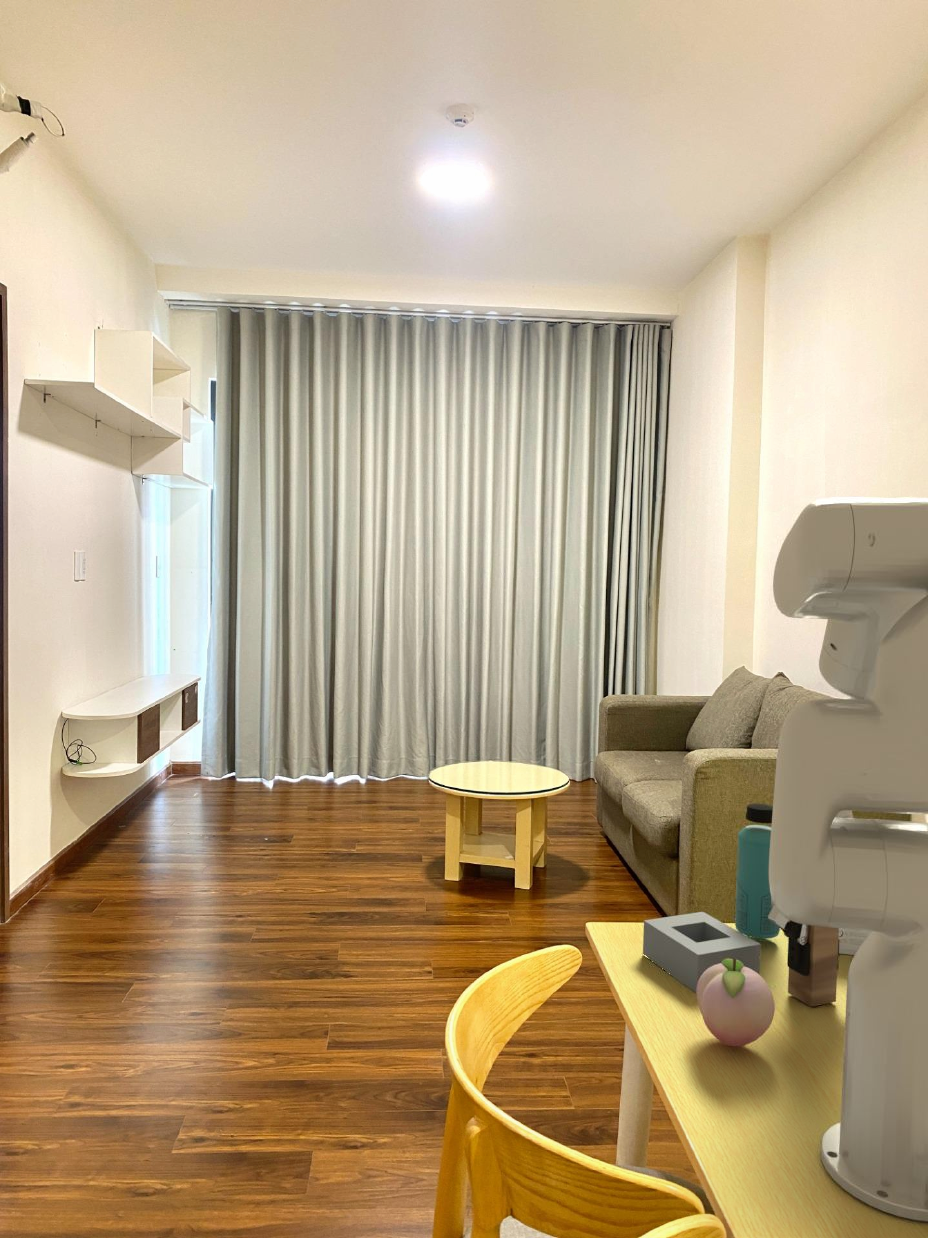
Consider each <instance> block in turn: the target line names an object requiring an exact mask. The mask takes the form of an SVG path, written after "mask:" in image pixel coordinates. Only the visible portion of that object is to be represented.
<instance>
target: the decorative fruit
mask: <svg viewBox="0 0 928 1238" xmlns="http://www.w3.org/2000/svg"><path fill="white" fill-rule="evenodd" d="M696 999H697V1002H698V1003H697V1004H698V1009H699V1011H700V1013H701V1016H702V1019H703V1022H704V1024H705V1026H706V1028H707V1030H708V1031H709V1033H711V1034H712V1035H713V1037H715V1039H717V1040H718V1041H720V1042H721V1043H723V1044H724V1045H726V1046H727V1047H740V1046H747V1045H748V1044H751V1043H754V1042H755V1041H756V1040H758V1039H760V1037H762V1036H763V1035H764V1034H766V1032H767V1030H769V1029H770V1026H771V1025H772V1023H773V1020H774V1016H775V1011H776V1010H775V1009H776V1008H775V1007H776V1005H775V999H774V995H773V993H772V991H771V989H770V987H769V985H768V983H767V982H766V980H765V979H764V978H763V977H762V975H760V973H759V974H758V973H756V972H755V971H753V970H752V969H749V968H747V967H744V964H743V963H742V962H741V961H739V960H736V959H735V958H734V959H728V958H727V959H724V960H723V961H722V963H720V964H716V965H714V966H711V967H710V968H708V969H707V970H706V971H705V972H704V973H703V974H702V976H701V977H700V979H699V981H698V984H697V993H696Z"/></svg>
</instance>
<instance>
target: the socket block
mask: <svg viewBox="0 0 928 1238" xmlns="http://www.w3.org/2000/svg"><path fill="white" fill-rule="evenodd" d="M643 954H644V955H646V956H647V957H648V958H649V959H650V960H651V961H653V962H654V963H655V964H657V965H658V966H660V967H661V968H663V969H664V970H665V971H666V972H665V971H664V970H663V971H664V972H665V973H667V972H668V973H670V974H669V975H670V976H671V975H672V976H673V977H672V976H671V977H672V978H674V979H675V980H677V981H678V982H680V983H681V984H683V985H684V986H685V987H687V988H688V989H690V990H691V991H692V992H694V993H696V994H697V984H698V981H699V979H700V977H701V976H702V974H703V973H704V972H705V971H706V970H707V969H708V968H710V967H711V966H714V965H716V964H720V963H722V961H723V960H724V959H727V958H728V959H734V958H735V959H736V960H739V961H741V962H742V963H743V964H744V967H747V968H749V969H752V970H753V971H755V972H756V973H758V974H759V975H760V971H761V970H760V969H761V943H760V942H758V941H756V940H754V939H752V937H751V938H750V936H747V935H744V934H742V933H740V932H739V931H738V930H737V929H736V928H735V929H734V928H733V927H731V926H729V925H728V924H726V923H723V922H722V921H720V920H719V919H716V918H715V917H713V916H712V915H709V914H708V913H706V912H704V911H699V912H691V913H686V914H685V913H684V914H677V915H672V916H671V915H670V916H666V917H665V916H664V917H657V918H653V919H652V918H651V919H645V920H643V942H642V955H643ZM650 960H649V961H650ZM651 961H650V962H651ZM654 963H653V964H654ZM655 964H654V965H655ZM657 965H656V966H657ZM658 966H657V967H658ZM660 967H659V968H660ZM661 968H660V969H661ZM668 973H667V974H668Z"/></svg>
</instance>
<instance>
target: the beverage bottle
mask: <svg viewBox="0 0 928 1238" xmlns="http://www.w3.org/2000/svg"><path fill="white" fill-rule="evenodd" d="M772 814H773V805H770V804H765V803H756V802H755V803H749V804H747V806H746V813H745V820H746V821H749V822H752V823H756V824H750V825H746V826H745V827H743V828H742V829H741V830H740V831H739V832H738V833H737V838H738V839H737V858H736V861H737V862H736V863H737V864H736V868H735V870H736V873H735V875H736V876H735V880H736V881H735V898H734V904H735V907H734V909H733V910H734V917H733V919H734V920H733V921H734V923H733V924H734V926H735V930H736V931H738V932H740V933H742V934H743V935H745V936H747V937H749V938H750V937H751V938H755V939H764V940H765V939H774V938H776V937H777V936H779V933H780V931H781V928H780V927H779V926H777V925H776V924H774V923H773V922H771V921H770V920H769V919H768V916H769V914H770V912H771V910H772V908H773V907H772V903H771V893H770V885H769V853H770V839H771V827H772V826H767V825H761V824H772Z"/></svg>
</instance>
